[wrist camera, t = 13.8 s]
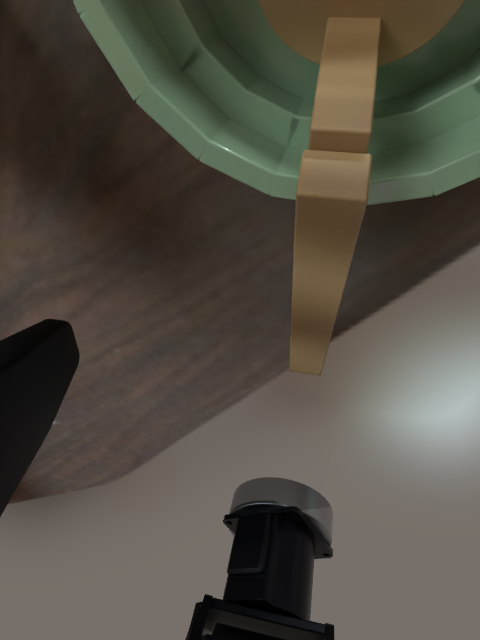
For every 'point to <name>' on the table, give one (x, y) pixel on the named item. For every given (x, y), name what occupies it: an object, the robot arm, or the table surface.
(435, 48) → the bowl
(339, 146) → the wooden disc paddle
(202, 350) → the table surface
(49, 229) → the table surface
